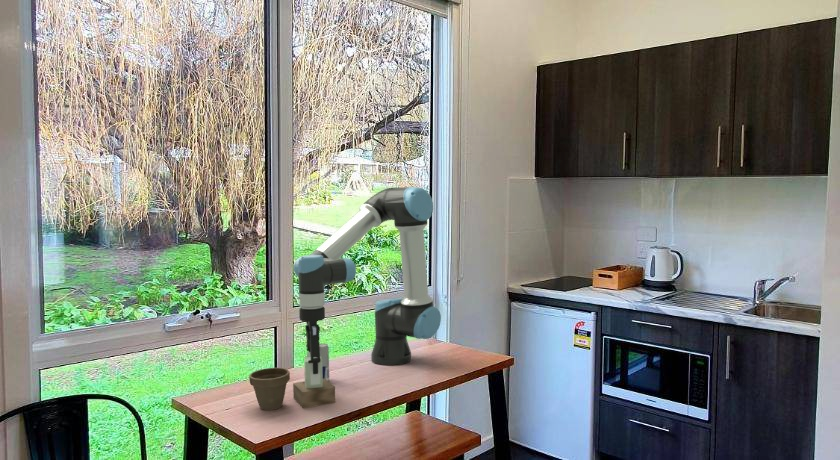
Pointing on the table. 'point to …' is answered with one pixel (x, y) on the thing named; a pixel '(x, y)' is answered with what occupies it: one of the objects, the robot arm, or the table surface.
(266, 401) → the flower pot
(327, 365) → the energy drink
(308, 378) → the sage block
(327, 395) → the walnut block
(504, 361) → the table surface
